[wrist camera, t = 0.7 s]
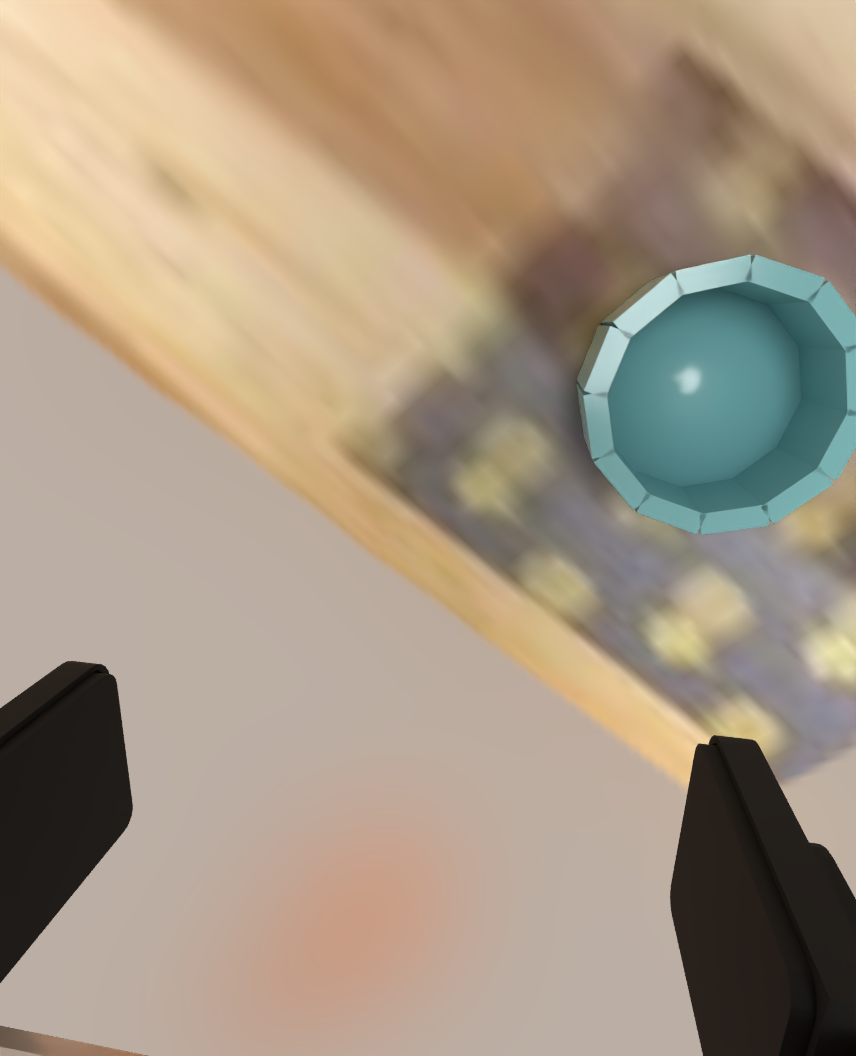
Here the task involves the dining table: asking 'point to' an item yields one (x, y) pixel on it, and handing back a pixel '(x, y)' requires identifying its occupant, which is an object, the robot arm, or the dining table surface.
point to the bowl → (722, 394)
